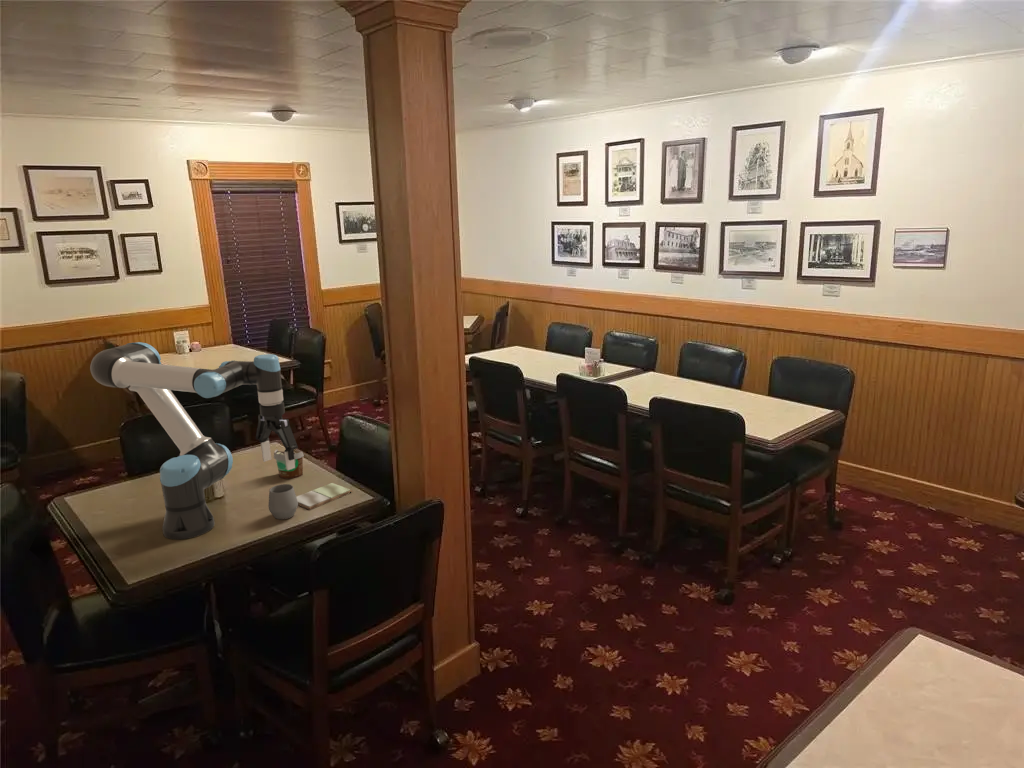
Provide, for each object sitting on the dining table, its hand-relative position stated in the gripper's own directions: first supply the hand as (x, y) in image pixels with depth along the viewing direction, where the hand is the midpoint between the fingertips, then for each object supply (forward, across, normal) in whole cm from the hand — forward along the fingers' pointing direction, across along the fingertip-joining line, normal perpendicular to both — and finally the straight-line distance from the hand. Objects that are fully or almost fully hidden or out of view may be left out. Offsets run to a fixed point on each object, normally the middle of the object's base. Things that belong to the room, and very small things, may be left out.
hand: (278, 464), depth 219 cm
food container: (+19, +30, -21) cm, 41 cm away
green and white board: (+18, +3, -17) cm, 25 cm away
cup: (+19, 0, 0) cm, 19 cm away
